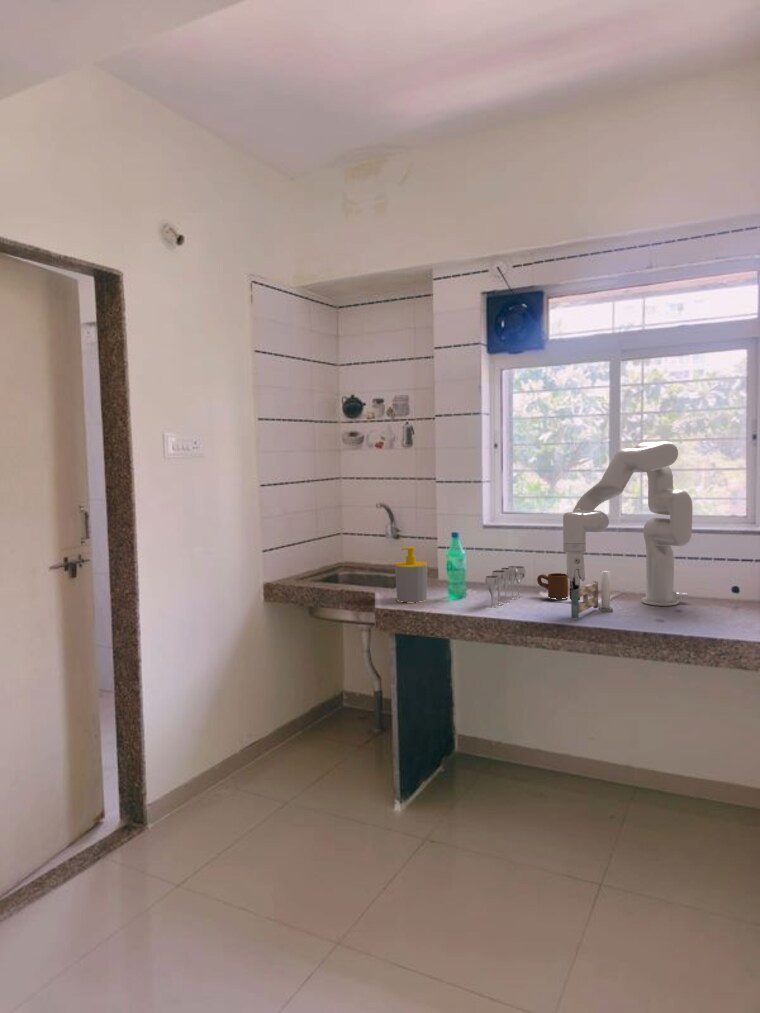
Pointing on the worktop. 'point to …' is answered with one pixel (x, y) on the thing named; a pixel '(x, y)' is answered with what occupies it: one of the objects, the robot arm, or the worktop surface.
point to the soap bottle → (411, 578)
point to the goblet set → (504, 581)
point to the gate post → (605, 592)
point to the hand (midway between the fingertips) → (574, 599)
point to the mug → (555, 585)
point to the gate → (584, 599)
